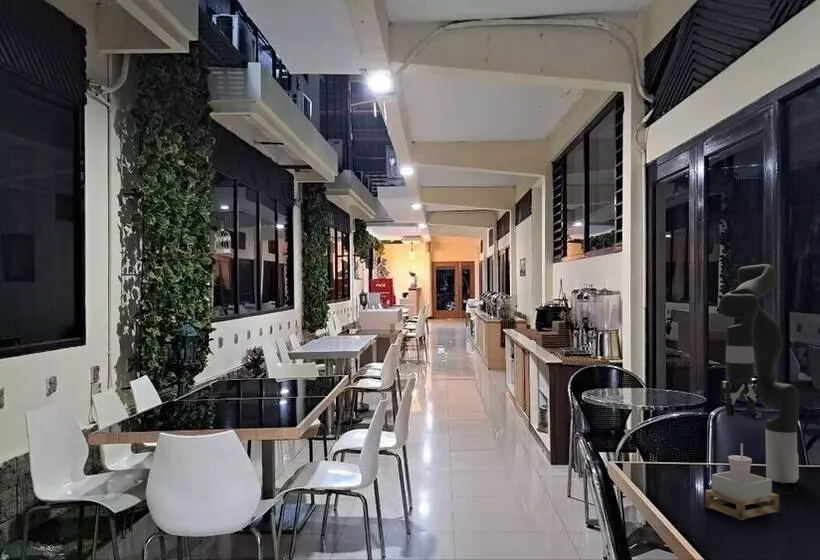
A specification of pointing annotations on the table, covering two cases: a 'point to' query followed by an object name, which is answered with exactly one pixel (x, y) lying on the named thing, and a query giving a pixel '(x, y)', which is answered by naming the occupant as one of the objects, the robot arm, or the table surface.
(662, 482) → the table surface
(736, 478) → the smoothie
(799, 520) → the table surface
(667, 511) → the table surface
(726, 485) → the grey crate
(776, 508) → the wooden pallet
